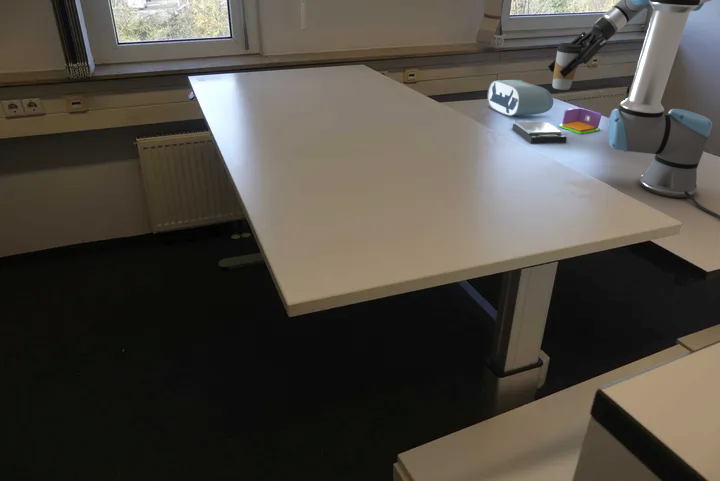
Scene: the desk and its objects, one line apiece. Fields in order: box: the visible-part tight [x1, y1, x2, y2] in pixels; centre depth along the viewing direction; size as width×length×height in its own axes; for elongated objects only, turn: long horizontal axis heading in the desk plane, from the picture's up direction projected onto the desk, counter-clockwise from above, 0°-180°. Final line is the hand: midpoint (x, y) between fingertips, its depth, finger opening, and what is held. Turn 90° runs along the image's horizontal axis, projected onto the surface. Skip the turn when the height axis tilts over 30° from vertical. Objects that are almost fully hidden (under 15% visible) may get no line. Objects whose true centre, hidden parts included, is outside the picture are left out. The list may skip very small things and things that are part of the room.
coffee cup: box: [551, 42, 583, 91], centre depth 189 cm, size 8×8×15 cm
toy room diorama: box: [558, 107, 603, 135], centre depth 213 cm, size 12×12×7 cm
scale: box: [511, 121, 568, 145], centre depth 203 cm, size 17×14×3 cm
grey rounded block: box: [486, 79, 554, 117], centre depth 230 cm, size 22×19×13 cm
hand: (555, 71), depth 190 cm, fingers closed on coffee cup, 8 cm apart
